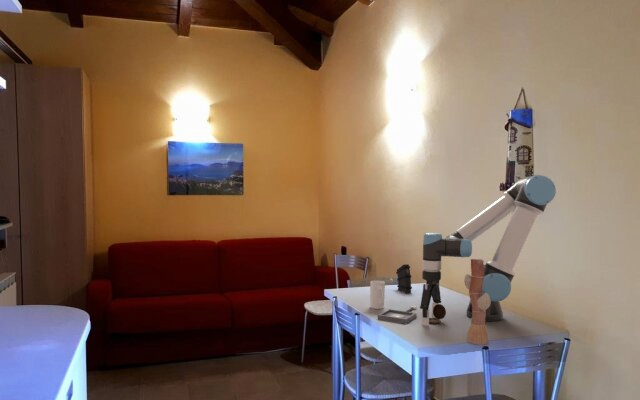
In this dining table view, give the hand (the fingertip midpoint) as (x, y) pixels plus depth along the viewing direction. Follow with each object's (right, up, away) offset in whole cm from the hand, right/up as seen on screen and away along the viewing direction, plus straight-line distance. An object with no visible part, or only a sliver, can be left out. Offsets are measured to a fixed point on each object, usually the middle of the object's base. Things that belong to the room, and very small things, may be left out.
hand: (430, 321), depth 201 cm
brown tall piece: (+11, -1, -25) cm, 27 cm away
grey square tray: (-13, 0, +5) cm, 14 cm away
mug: (-19, 0, +23) cm, 30 cm away
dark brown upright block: (0, 0, +64) cm, 64 cm away
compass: (+2, -1, -1) cm, 2 cm away
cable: (-6, 0, +17) cm, 18 cm away
